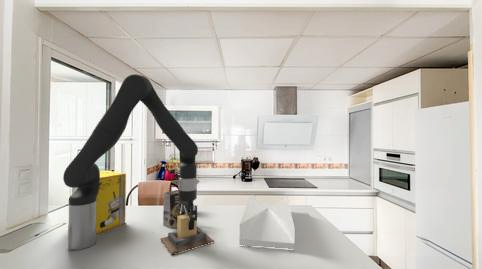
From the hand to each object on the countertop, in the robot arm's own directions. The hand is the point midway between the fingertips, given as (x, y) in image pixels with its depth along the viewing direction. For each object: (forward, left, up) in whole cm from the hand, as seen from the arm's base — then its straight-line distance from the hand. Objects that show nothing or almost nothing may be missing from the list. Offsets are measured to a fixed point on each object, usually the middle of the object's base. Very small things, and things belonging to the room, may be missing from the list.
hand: (187, 226), depth 96 cm
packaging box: (-29, +39, -7) cm, 49 cm away
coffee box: (+2, +21, -7) cm, 22 cm away
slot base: (0, 0, -7) cm, 7 cm away
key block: (0, 0, -6) cm, 6 cm away
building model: (+40, -7, -7) cm, 41 cm away
